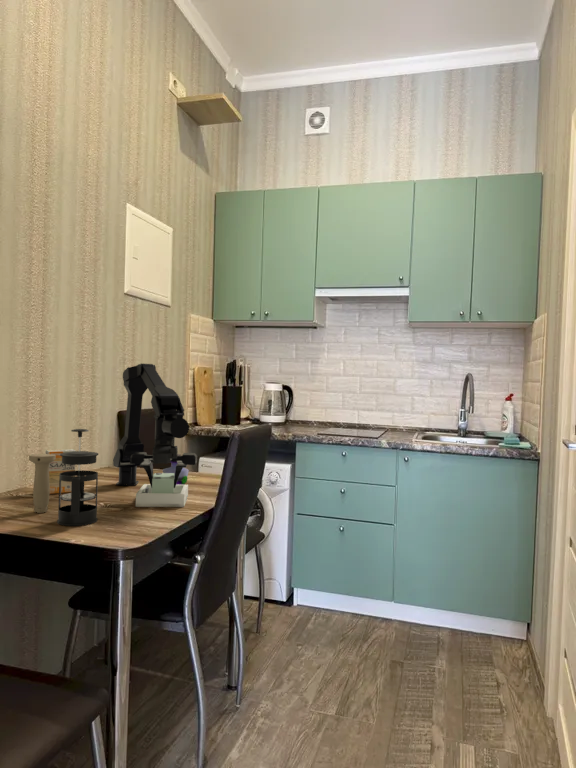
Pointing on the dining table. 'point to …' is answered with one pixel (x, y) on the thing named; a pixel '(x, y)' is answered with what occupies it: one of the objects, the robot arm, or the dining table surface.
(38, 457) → the handle
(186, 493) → the cabinet carcass
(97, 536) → the dining table surface
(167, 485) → the green box with knobs
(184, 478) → the potion bottle
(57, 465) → the supplement box
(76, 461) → the french press
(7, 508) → the dining table surface
